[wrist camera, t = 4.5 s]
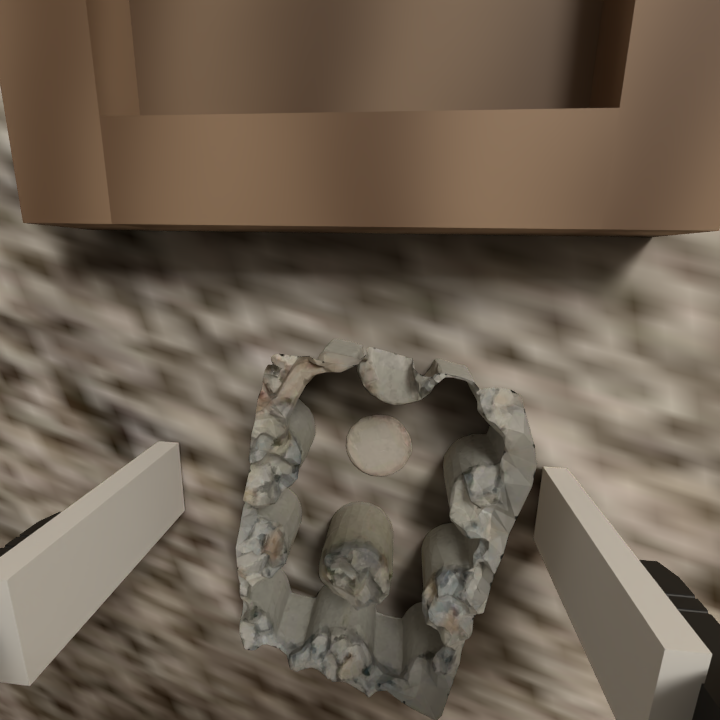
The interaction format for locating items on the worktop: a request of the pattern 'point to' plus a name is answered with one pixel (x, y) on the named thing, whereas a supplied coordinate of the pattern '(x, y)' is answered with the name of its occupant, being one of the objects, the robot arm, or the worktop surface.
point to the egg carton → (377, 530)
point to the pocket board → (366, 115)
